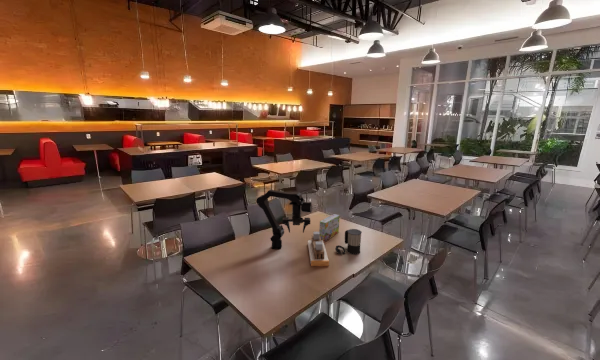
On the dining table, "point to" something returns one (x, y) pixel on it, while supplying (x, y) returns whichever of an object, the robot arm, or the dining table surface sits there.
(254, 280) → the dining table surface
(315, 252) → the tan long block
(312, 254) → the panel
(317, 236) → the crate
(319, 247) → the crate
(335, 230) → the snack box
